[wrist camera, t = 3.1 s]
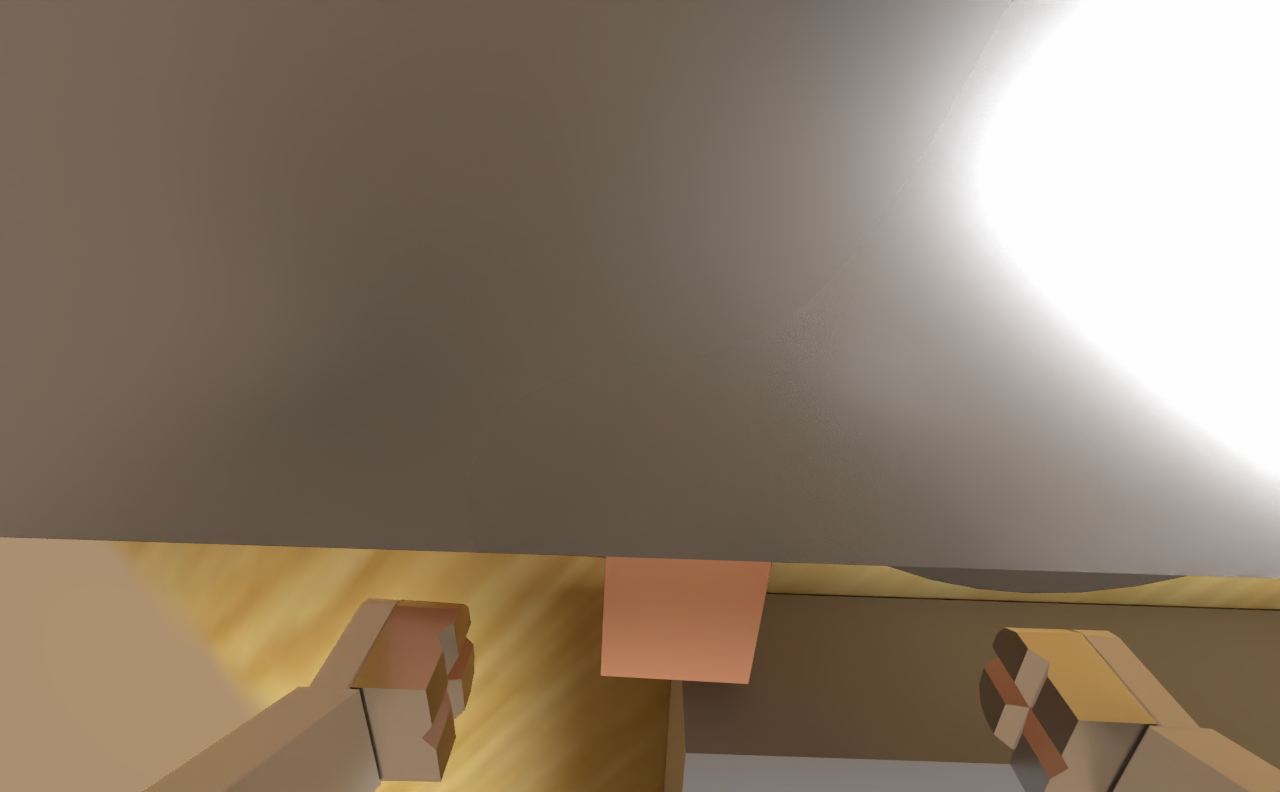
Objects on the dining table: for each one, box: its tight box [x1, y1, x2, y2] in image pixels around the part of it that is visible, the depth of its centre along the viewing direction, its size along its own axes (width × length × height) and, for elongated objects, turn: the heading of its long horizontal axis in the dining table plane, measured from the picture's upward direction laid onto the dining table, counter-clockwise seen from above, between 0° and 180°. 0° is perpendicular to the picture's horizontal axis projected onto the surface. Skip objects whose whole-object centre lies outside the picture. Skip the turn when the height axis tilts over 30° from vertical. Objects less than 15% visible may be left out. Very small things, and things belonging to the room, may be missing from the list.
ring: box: [601, 557, 772, 684], centre depth 9 cm, size 14×10×3 cm
